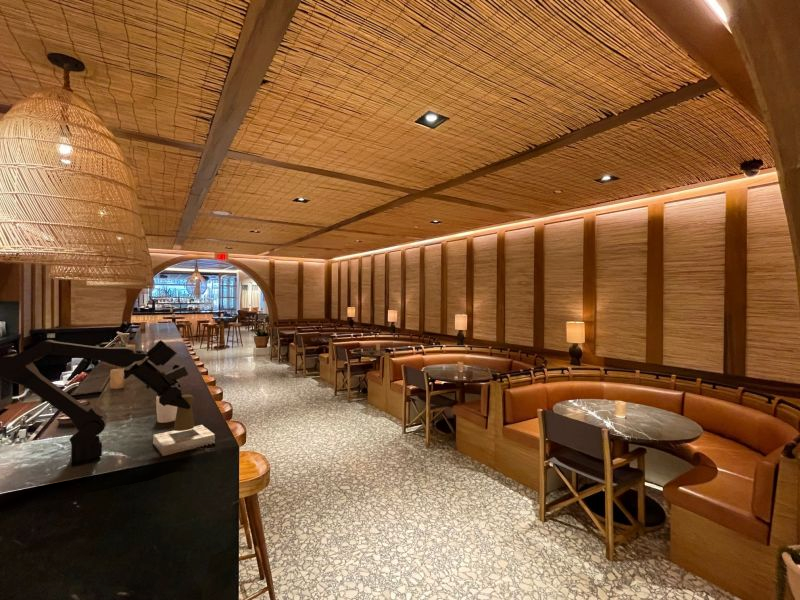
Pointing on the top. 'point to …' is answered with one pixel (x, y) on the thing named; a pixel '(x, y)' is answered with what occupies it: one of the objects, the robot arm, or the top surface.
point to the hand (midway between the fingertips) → (189, 406)
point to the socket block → (183, 440)
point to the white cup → (165, 412)
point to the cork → (184, 416)
